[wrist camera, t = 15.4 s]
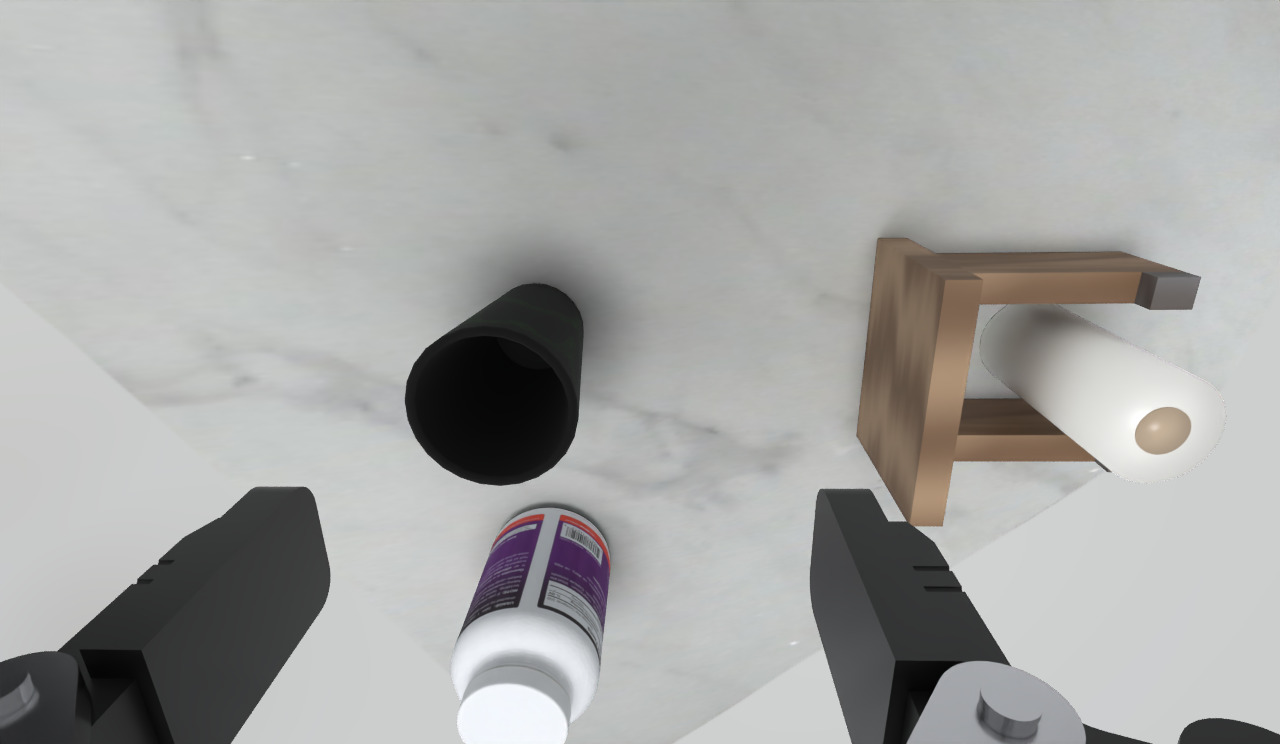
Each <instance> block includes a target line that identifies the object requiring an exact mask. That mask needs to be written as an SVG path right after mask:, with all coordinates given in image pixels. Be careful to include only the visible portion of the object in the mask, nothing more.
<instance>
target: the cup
mask: <svg viewBox="0 0 1280 744" xmlns="http://www.w3.org/2000/svg"><path fill="white" fill-rule="evenodd" d="M582 350H583V321H582V318H581V315H580V312H579V310H578V309H577V307H576V305H575V304H574V302H573V301H572V300H571V299H570V298H569V297H568V296H567V295H566V294H564V293H563V292H561V291H560V290H558V289H556V288H554V287H551V286H548V285H545V284H535V283H533V284H526V285H521V286H519V287H516V288H514V289H512V290H510V291H509V292H507V293H506V294H504V295H503V296H501V297H500V298H499V299H497V300H496V301H494V302H493V303H491V304H490V305H488V306H487V307H485V308H484V309H482V310H481V311H479V312H478V313H476V314H475V315H473V316H472V317H470V318H469V319H467V320H466V321H464V322H463V323H461V324H460V325H458V326H457V327H456V328H454V329H453V330H451V331H450V332H448V333H447V334H445V335H444V336H442V337H441V338H439V339H438V340H437V341H435V342H434V343H433V344H431V345H430V346H429V347H427V348H426V349H425V350H424V352H423V353H422V354H421V355H420V357H419V358H418V359H417V361H416V362H415V363H414V365H413V367H412V370H411V372H410V375H409V377H408V380H407V384H406V394H405V405H406V412H407V418H408V421H409V424H410V426H411V428H412V431H413V433H414V435H415V438H416V439H417V441H418V442H419V443H420V445H421V446H422V447H423V449H424V450H425V451H426V453H427V454H428V455H429V456H430V457H431V458H433V459H434V460H435V461H436V462H437V463H438V464H439V465H440V466H442V467H443V468H445V469H446V470H448V471H450V472H452V473H453V474H455V475H457V476H459V477H461V478H464V479H467V480H470V481H473V482H476V483H479V484H488V485H498V486H502V485H511V484H520V483H523V482H525V481H528V480H531V479H534V478H537V477H539V476H540V475H542V474H543V473H545V472H547V471H548V470H550V469H551V468H553V467H554V466H555V465H556V464H557V463H558V462H559V460H560V459H561V458H562V457H563V456H564V455H565V454H566V452H567V450H568V448H569V447H570V445H571V443H572V441H573V439H574V437H575V432H576V427H577V422H578V415H579V399H580V382H581V366H582Z"/></svg>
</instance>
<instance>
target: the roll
mask: <svg viewBox="0 0 1280 744" xmlns="http://www.w3.org/2000/svg"><path fill="white" fill-rule="evenodd" d="M980 355H981V359H982V362H983V364H984V365H985V367H986V368H987V370H988V371H989V372H990V373H992V374H993V375H994V376H995V377H996V378H998V379H999V380H1000V381H1001V382H1002V383H1004V384H1005V385H1006V386H1007V387H1009V388H1010V389H1011V390H1012V391H1014V392H1015V393H1016V394H1017V395H1018V396H1020V397H1021V398H1022V399H1023V400H1025V401H1026V402H1027V403H1028V404H1029V405H1031V406H1032V407H1033V408H1034V409H1036V410H1037V411H1038V412H1039V413H1041V414H1042V415H1043V416H1044V417H1045V418H1047V419H1048V420H1049V421H1050V422H1052V423H1053V424H1054V425H1055V426H1056V427H1058V428H1059V429H1060V430H1061V431H1063V432H1064V433H1065V434H1066V435H1067V436H1069V437H1070V438H1071V439H1072V440H1074V441H1075V442H1076V443H1077V444H1079V445H1080V446H1081V447H1082V448H1083V449H1085V450H1086V451H1087V452H1088V453H1090V454H1091V455H1092V456H1093V457H1094V458H1096V459H1097V460H1098V461H1099V462H1101V463H1102V464H1103V465H1104V466H1105V467H1107V468H1108V469H1109V470H1110V471H1112V472H1113V473H1114V474H1116V475H1117V476H1119V477H1121V478H1123V479H1126V480H1129V481H1132V482H1138V483H1156V482H1162V481H1166V480H1170V479H1173V478H1176V477H1178V476H1181V475H1183V474H1185V473H1187V472H1188V471H1190V470H1192V469H1193V468H1195V467H1196V466H1197V465H1199V464H1200V463H1201V462H1202V461H1203V460H1205V459H1206V458H1207V457H1208V455H1209V454H1210V453H1211V452H1212V451H1213V449H1214V448H1215V447H1216V445H1217V444H1218V442H1219V440H1220V438H1221V436H1222V434H1223V431H1224V428H1225V424H1226V407H1225V403H1224V401H1223V398H1222V396H1221V395H1220V393H1219V392H1218V390H1217V389H1216V388H1215V387H1214V386H1213V385H1211V384H1210V383H1209V382H1207V381H1205V380H1203V379H1201V378H1199V377H1197V376H1195V375H1193V374H1191V373H1189V372H1187V371H1186V370H1184V369H1182V368H1180V367H1178V366H1176V365H1174V364H1172V363H1170V362H1168V361H1166V360H1164V359H1162V358H1160V357H1158V356H1156V355H1154V354H1152V353H1150V352H1148V351H1146V350H1144V349H1142V348H1140V347H1138V346H1136V345H1134V344H1132V343H1130V342H1128V341H1126V340H1124V339H1122V338H1120V337H1118V336H1116V335H1114V334H1112V333H1110V332H1109V331H1107V330H1105V329H1103V328H1101V327H1099V326H1097V325H1095V324H1093V323H1091V322H1089V321H1087V320H1085V319H1083V318H1081V317H1079V316H1077V315H1075V314H1073V313H1071V312H1069V311H1067V310H1065V309H1063V308H1061V307H1059V306H1057V305H1055V304H1010V305H1008V306H1006V307H1004V308H1003V309H1002V310H1000V311H999V312H998V313H997V314H995V315H994V316H993V318H992V319H991V320H990V321H989V322H988V324H987V325H986V327H985V329H984V331H983V334H982V336H981V341H980Z"/></svg>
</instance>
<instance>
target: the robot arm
mask: <svg viewBox="0 0 1280 744" xmlns="http://www.w3.org/2000/svg"><path fill="white" fill-rule="evenodd" d="M329 587H330V566H329V562H328V557H327V552H326V548H325V543H324V538H323V534H322V529H321V525H320V520H319V515H318V511H317V506H316V502H315V498H314V496H313V494H312V492H311V491H310V490H309V489H308V488H306V487H255V488H253V489H251V490H250V491H249V492H248V493H247V494H246V495H245V496H243V498H241V499H240V500H239V501H238V502H237V503H236V504H235V505H234V506H233V507H232V508H231V509H229V510H228V511H227V512H226V513H225V514H224V515H223V516H222V517H221V518H218V519H216V520H214V521H212V522H210V523H209V524H207V525H205V526H203V527H202V528H200V529H198V530H196V531H194V532H193V533H191V534H189V535H187V536H185V537H184V538H183V539H182V540H181V541H179V542H178V543H177V544H176V545H175V546H174V547H173V548H172V549H170V550H169V551H168V552H167V553H166V554H165V555H164V556H163V557H162V558H160V559H159V563H158V565H153V566H152V567H150V568H149V569H148V570H147V571H146V572H145V573H144V574H143V575H142V576H140V577H139V578H138V580H137V584H132V585H130V586H129V587H128V588H127V589H126V590H125V591H124V592H123V593H121V594H120V595H119V596H118V597H117V598H116V599H115V600H114V601H113V602H111V604H109V605H108V606H107V607H106V608H105V609H104V610H103V611H101V612H100V613H99V614H98V615H97V616H96V617H95V618H94V619H93V620H91V621H90V622H89V623H88V624H87V625H86V626H85V627H84V628H83V629H81V630H80V631H79V632H78V633H77V634H76V635H75V636H74V637H73V638H71V639H70V640H69V641H68V642H67V643H66V644H65V645H64V646H63V647H62V648H60V649H59V650H58V651H57V652H56V651H44V652H37V653H31V654H27V655H22V656H18V657H15V658H11V659H8V660H5V661H3V662H0V744H231V742H232V741H233V739H234V737H235V736H236V735H237V733H238V732H239V730H240V729H241V728H242V726H243V725H244V723H245V721H246V720H247V719H248V717H249V716H250V714H251V713H252V711H253V710H254V708H255V707H256V705H257V704H258V703H259V701H260V700H261V698H262V697H263V695H264V694H265V692H266V691H267V689H268V688H269V686H270V685H271V683H272V682H273V680H274V679H275V677H276V676H277V675H278V673H279V671H280V670H281V669H282V667H283V666H284V664H285V663H286V661H287V660H288V658H289V657H290V655H291V654H292V652H293V651H294V649H295V648H296V647H297V645H298V644H299V642H300V641H301V639H302V638H303V636H304V635H305V633H306V632H307V630H308V629H309V627H310V626H311V624H312V623H313V621H314V620H315V619H316V617H317V616H318V614H319V613H320V611H321V610H322V608H323V606H324V604H325V602H326V598H327V596H328V592H329ZM810 593H811V602H812V608H813V613H814V617H815V620H816V624H817V627H818V630H819V634H820V637H821V641H822V644H823V647H824V651H825V654H826V657H827V660H828V664H829V668H830V671H831V674H832V677H833V681H834V684H835V688H836V691H837V695H838V698H839V701H840V705H841V708H842V711H843V715H844V718H845V721H846V725H847V728H848V732H849V735H850V738H851V742H852V744H1151V743H1147V742H1143V741H1140V740H1136V739H1132V738H1128V737H1124V736H1121V735H1117V734H1112V733H1108V732H1105V731H1102V730H1099V729H1096V728H1093V727H1090V726H1087V725H1085V724H1083V723H1082V722H1081V719H1080V717H1079V716H1078V714H1077V713H1076V711H1075V710H1074V708H1073V707H1072V706H1071V705H1070V704H1069V702H1068V701H1067V700H1066V699H1065V698H1064V697H1063V696H1062V695H1061V694H1059V693H1058V692H1057V691H1056V690H1055V689H1053V688H1052V687H1051V686H1049V685H1048V684H1047V683H1045V682H1043V681H1042V680H1040V679H1038V678H1037V677H1035V676H1033V675H1031V674H1029V673H1027V672H1025V671H1023V670H1020V669H1017V668H1014V667H1012V666H1011V665H1010V664H1009V662H1008V661H1007V659H1006V657H1005V655H1004V654H1003V652H1002V651H1001V649H1000V647H999V646H998V644H997V643H996V641H995V639H994V638H993V636H992V635H991V633H990V631H989V630H988V628H987V627H986V625H985V623H984V622H983V620H982V618H981V617H980V615H979V614H978V612H977V610H976V609H975V607H974V606H973V604H972V603H971V601H970V599H969V598H968V596H967V594H966V593H965V592H962V586H961V585H960V583H959V582H958V580H957V578H956V577H955V575H954V573H953V572H952V571H949V565H948V564H947V562H946V561H945V559H944V557H943V556H942V554H941V552H940V551H939V549H938V548H937V546H936V544H935V543H934V542H933V541H932V540H931V539H929V538H928V537H927V536H925V535H924V534H923V533H922V532H920V531H919V530H918V529H916V528H915V527H914V526H912V525H911V524H910V523H908V522H888V520H887V518H886V516H885V515H884V513H883V511H882V509H881V507H880V505H879V503H878V502H877V500H876V498H875V496H874V494H873V493H872V491H871V490H870V489H820V490H819V492H818V495H817V500H816V510H815V521H814V533H813V544H812V556H811V567H810ZM1178 744H1280V735H1279V734H1277V733H1274V732H1272V731H1269V730H1267V729H1264V728H1261V727H1258V726H1255V725H1252V724H1249V723H1245V722H1241V721H1236V720H1230V719H1222V718H1212V719H1211V718H1208V719H1202V720H1198V721H1195V722H1193V723H1191V724H1189V725H1188V726H1187V727H1186V728H1184V730H1183V732H1182V734H1181V735H1180V738H1179V741H1178Z"/></svg>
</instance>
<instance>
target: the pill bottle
mask: <svg viewBox="0 0 1280 744" xmlns="http://www.w3.org/2000/svg"><path fill="white" fill-rule="evenodd" d="M610 565H611V564H610V554H609V549H608V546H607V543H606V541H605V539H604V537H603V536H602V534H601V533H600V532H599V530H598V529H597V528H596V527H595V526H594V525H593V524H592V523H591V522H590V521H588V520H587V519H585V518H584V517H582V516H580V515H578V514H576V513H574V512H571V511H568V510H564V509H558V508H539V509H534V510H530V511H527V512H524V513H522V514H520V515H518V516H516V517H515V518H513V519H512V520H510V521H509V522H508V523H507V524H506V525H505V526H504V527H503V528H502V529H501V531H500V532H499V534H498V535H497V537H496V539H495V541H494V544H493V546H492V549H491V551H490V554H489V557H488V560H487V562H486V565H485V568H484V570H483V573H482V576H481V578H480V581H479V584H478V587H477V589H476V592H475V595H474V597H473V600H472V603H471V605H470V608H469V611H468V613H467V616H466V619H465V621H464V624H463V627H462V629H461V632H460V634H459V637H458V640H457V642H456V644H455V648H454V651H453V654H452V658H451V678H452V682H453V685H454V688H455V691H456V693H457V695H458V697H459V699H460V701H461V704H460V708H459V710H458V714H457V727H458V731H459V734H460V736H461V738H462V740H463V741H464V743H465V744H564V743H565V741H566V738H567V734H568V729H569V724H570V723H571V722H573V721H574V720H576V719H577V718H578V717H579V716H580V715H581V714H582V713H583V712H584V711H585V710H586V709H587V707H588V706H589V704H590V703H591V701H592V699H593V697H594V695H595V693H596V690H597V686H598V681H599V674H600V664H601V652H602V642H603V632H604V624H605V614H606V605H607V595H608V586H609V577H610Z"/></svg>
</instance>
